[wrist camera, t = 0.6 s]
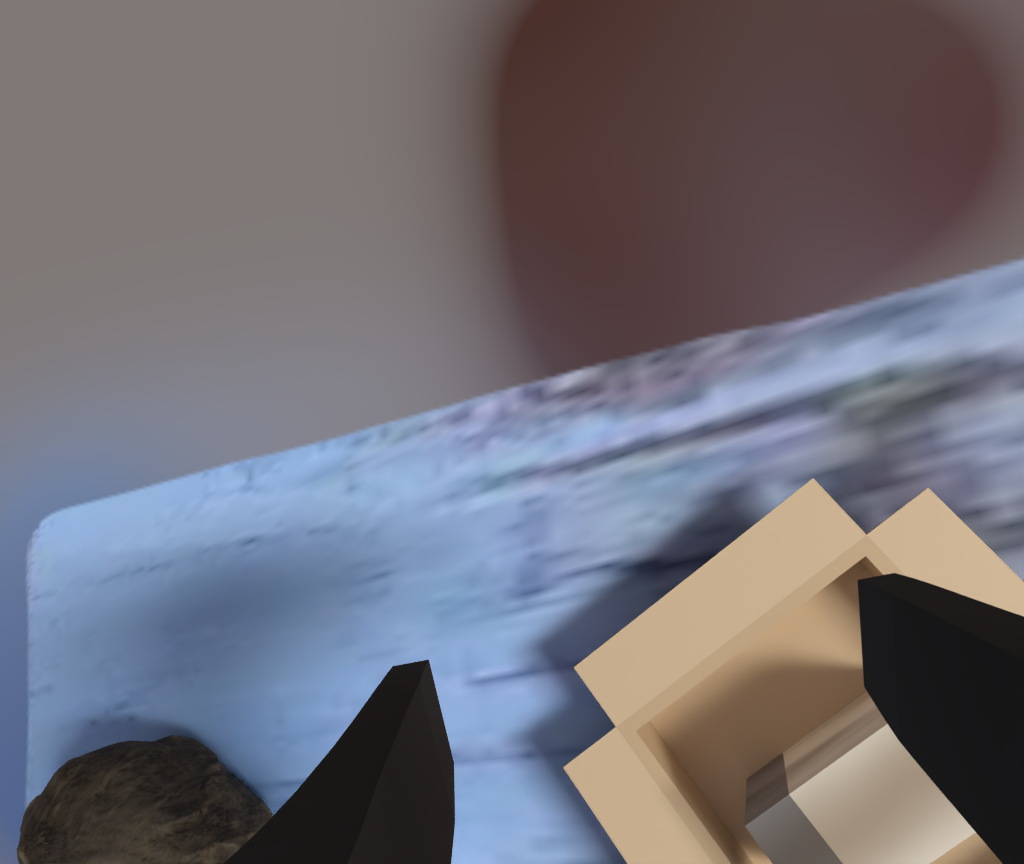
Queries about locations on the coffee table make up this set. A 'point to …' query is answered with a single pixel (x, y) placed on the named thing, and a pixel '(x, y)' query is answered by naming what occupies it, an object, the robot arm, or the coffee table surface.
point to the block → (850, 798)
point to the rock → (141, 808)
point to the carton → (755, 670)
